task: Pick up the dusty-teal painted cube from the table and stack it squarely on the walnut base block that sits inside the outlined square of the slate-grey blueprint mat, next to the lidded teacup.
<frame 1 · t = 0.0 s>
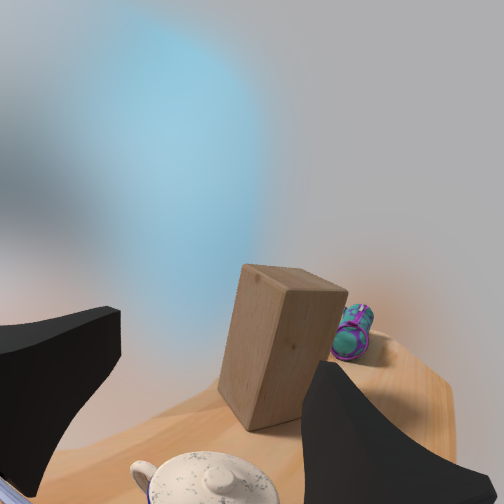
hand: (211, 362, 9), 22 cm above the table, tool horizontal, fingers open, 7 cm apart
pencil case: (347, 346, 65), on the table
wooden block: (260, 405, 38), on the table
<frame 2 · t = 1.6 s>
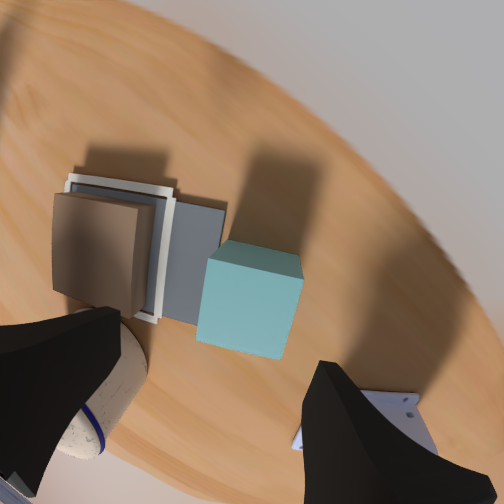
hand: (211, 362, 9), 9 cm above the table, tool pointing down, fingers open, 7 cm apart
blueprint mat: (133, 251, 19), on the table
teal cube: (255, 280, 18), on the table
walnut base: (107, 246, 19), resting on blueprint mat
teacup with lid: (103, 360, 22), on the table
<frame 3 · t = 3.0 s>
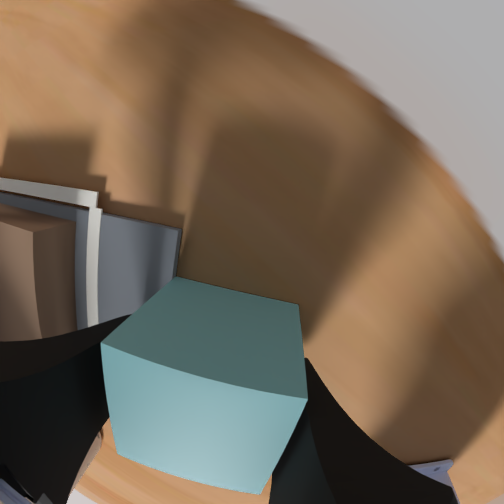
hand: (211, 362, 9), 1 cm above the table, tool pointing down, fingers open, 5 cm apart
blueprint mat: (57, 288, 11), on the table
teal cube: (225, 343, 11), on the table, touching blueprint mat, gripper
walnut base: (27, 280, 11), resting on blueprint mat
teacup with lid: (53, 413, 14), on the table
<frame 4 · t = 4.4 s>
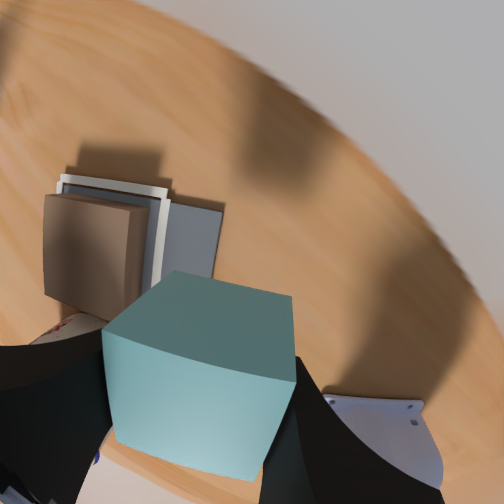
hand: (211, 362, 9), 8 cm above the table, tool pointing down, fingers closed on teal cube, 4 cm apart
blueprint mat: (127, 255, 18), on the table
teal cube: (221, 335, 11), point 7 cm above the table, touching gripper
walnut base: (100, 250, 18), resting on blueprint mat
teacup with lid: (98, 367, 21), on the table
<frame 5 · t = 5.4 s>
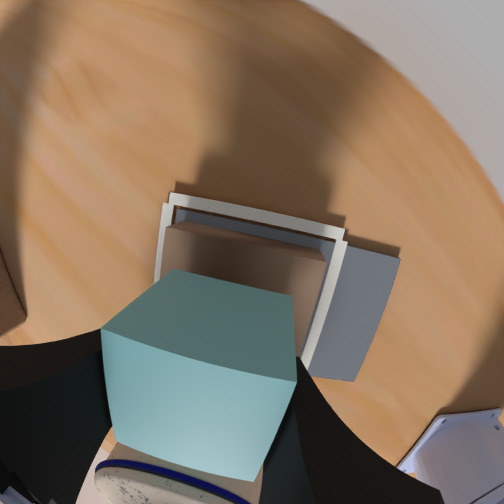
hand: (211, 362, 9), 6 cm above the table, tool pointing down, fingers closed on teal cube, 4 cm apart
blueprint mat: (275, 304, 15), on the table
teal cube: (221, 334, 11), point 5 cm above the table, touching gripper
walnut base: (237, 298, 15), resting on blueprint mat
teacup with lid: (200, 421, 18), on the table
when the fingers open (5 cm above the table, at t = 6.4 s): teal cube stays where it is, resting on walnut base.
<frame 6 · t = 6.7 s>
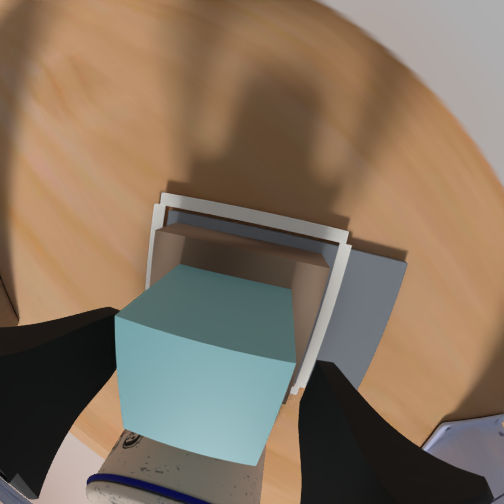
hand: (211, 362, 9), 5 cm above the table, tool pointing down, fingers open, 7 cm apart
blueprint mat: (274, 311, 14), on the table
teal cube: (224, 326, 12), point 3 cm above the table, touching walnut base
walnut base: (234, 305, 14), resting on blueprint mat, touching teal cube
teacup with lid: (196, 430, 17), on the table
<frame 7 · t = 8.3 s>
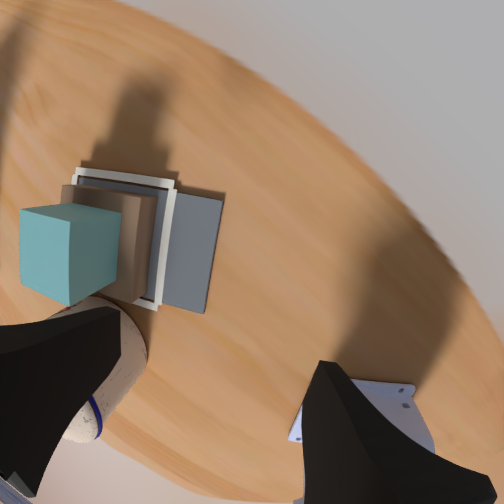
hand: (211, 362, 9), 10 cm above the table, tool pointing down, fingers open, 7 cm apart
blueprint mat: (136, 241, 20), on the table
teal cube: (92, 240, 17), point 3 cm above the table, touching walnut base
walnut base: (111, 236, 20), resting on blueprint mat, touching teal cube
teacup with lid: (104, 349, 23), on the table
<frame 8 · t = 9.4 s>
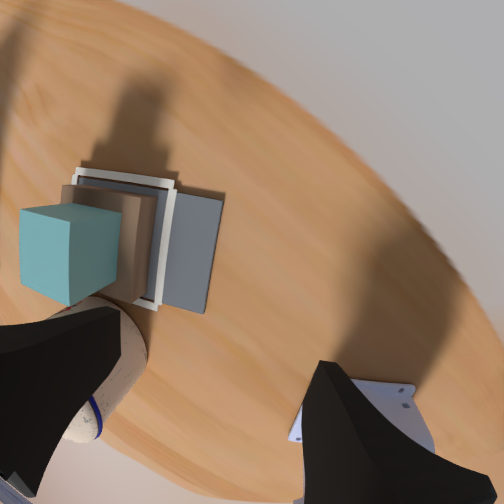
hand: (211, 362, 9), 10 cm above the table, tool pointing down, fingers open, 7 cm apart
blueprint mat: (136, 241, 20), on the table
teal cube: (92, 240, 17), point 3 cm above the table, touching walnut base
walnut base: (111, 236, 20), resting on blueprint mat, touching teal cube
teacup with lid: (104, 350, 23), on the table
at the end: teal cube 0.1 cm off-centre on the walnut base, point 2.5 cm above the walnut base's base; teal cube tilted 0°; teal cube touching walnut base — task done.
